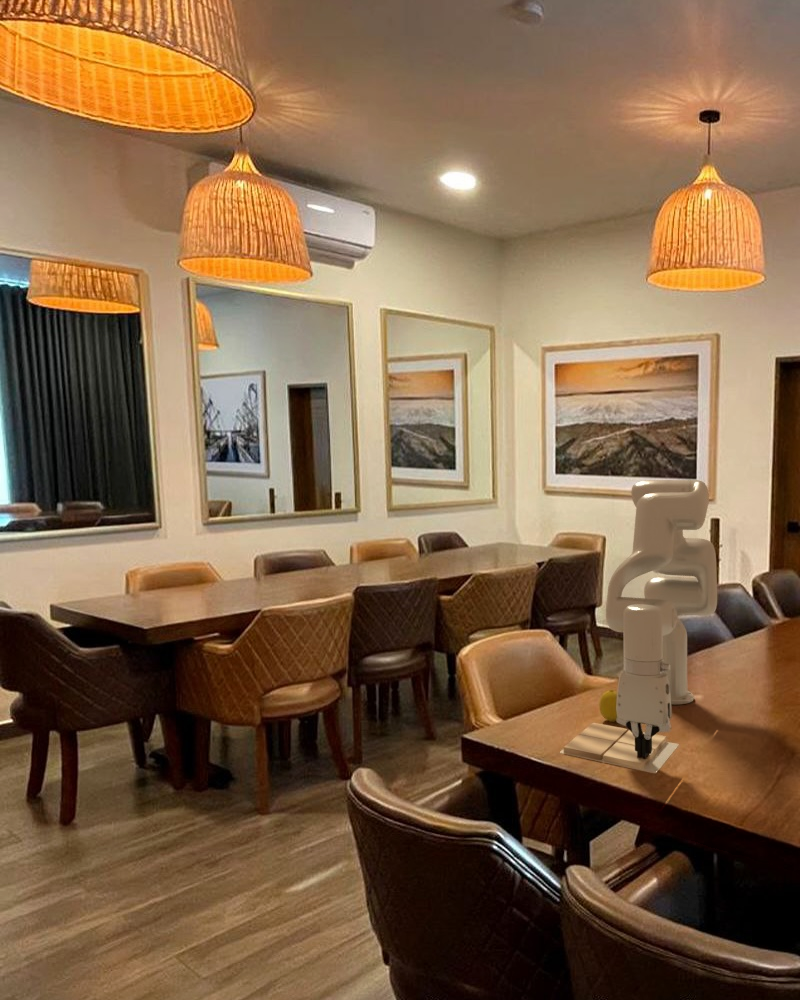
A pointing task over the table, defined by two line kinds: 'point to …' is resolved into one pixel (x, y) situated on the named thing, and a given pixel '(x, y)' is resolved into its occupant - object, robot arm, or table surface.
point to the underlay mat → (654, 762)
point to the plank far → (656, 739)
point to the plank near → (626, 756)
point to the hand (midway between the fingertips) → (643, 755)
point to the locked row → (594, 741)
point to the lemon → (609, 705)
